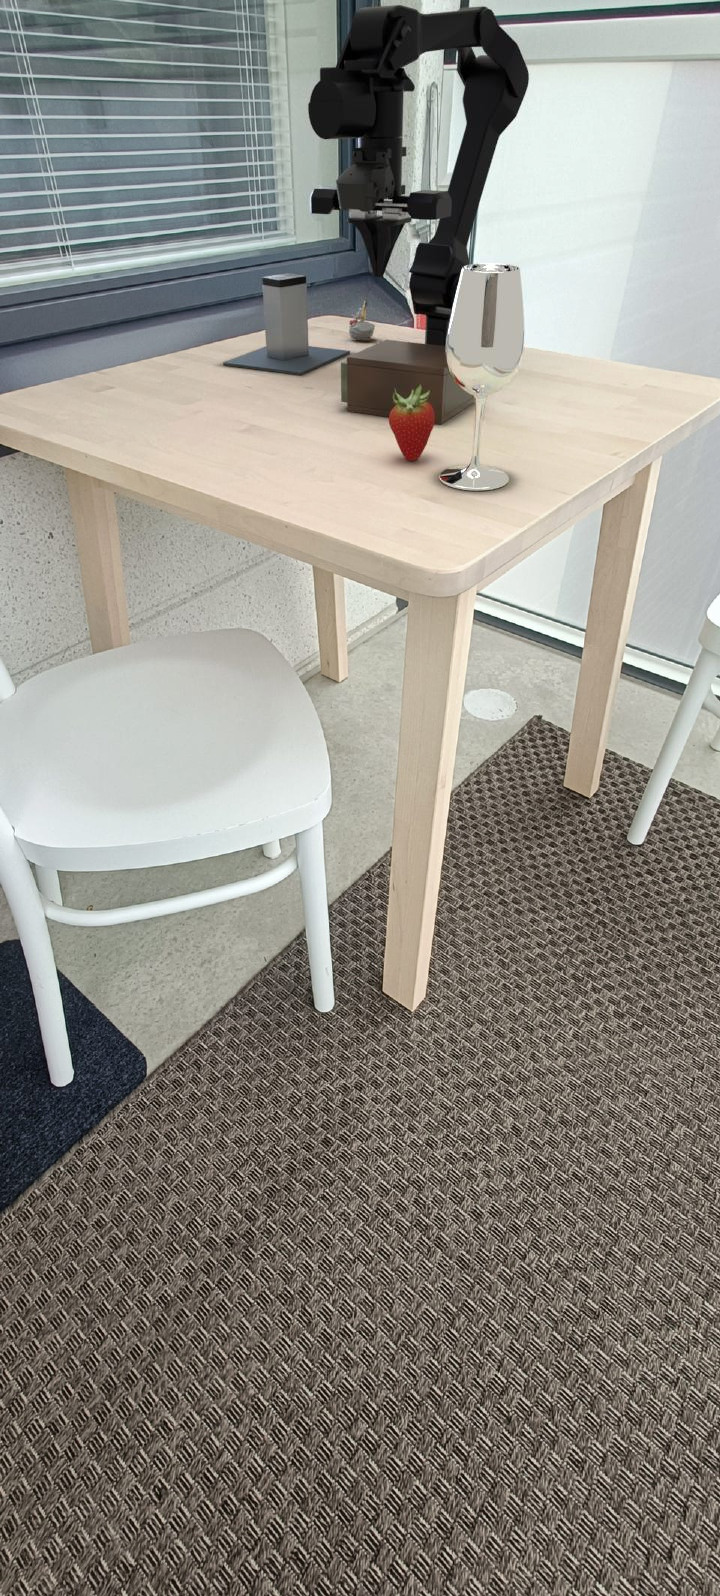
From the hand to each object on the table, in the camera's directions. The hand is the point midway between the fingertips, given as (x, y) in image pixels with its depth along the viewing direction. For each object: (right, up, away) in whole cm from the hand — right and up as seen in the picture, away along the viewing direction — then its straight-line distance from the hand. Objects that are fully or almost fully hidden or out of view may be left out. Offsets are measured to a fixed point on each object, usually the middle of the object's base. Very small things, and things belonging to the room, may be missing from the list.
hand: (378, 277), depth 122 cm
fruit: (+3, -34, -21) cm, 40 cm away
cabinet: (+4, -20, -4) cm, 21 cm away
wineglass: (+10, -38, -26) cm, 47 cm away
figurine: (-2, +6, +29) cm, 29 cm away
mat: (-14, -3, +17) cm, 23 cm away
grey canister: (-14, -2, +17) cm, 23 cm away
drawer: (+2, -19, -4) cm, 19 cm away
